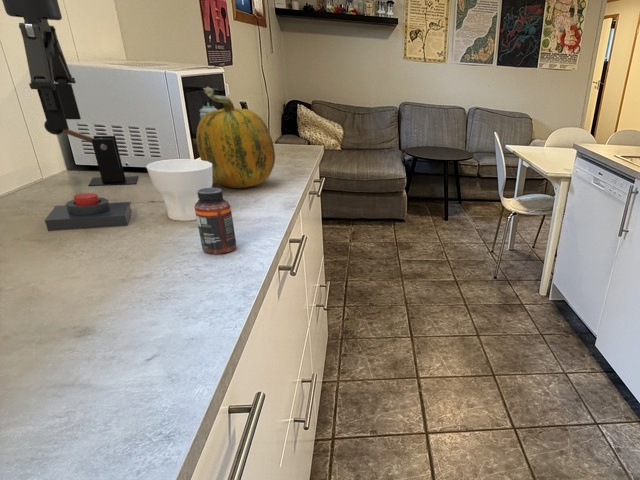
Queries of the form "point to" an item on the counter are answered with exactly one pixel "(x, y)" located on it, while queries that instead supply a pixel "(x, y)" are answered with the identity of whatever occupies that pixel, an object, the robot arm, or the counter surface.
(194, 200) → the cup
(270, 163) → the pumpkin
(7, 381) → the counter surface
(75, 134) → the switch lever
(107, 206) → the switch box
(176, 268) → the counter surface
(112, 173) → the lever bracket
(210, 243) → the supplement bottle
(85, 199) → the push button
